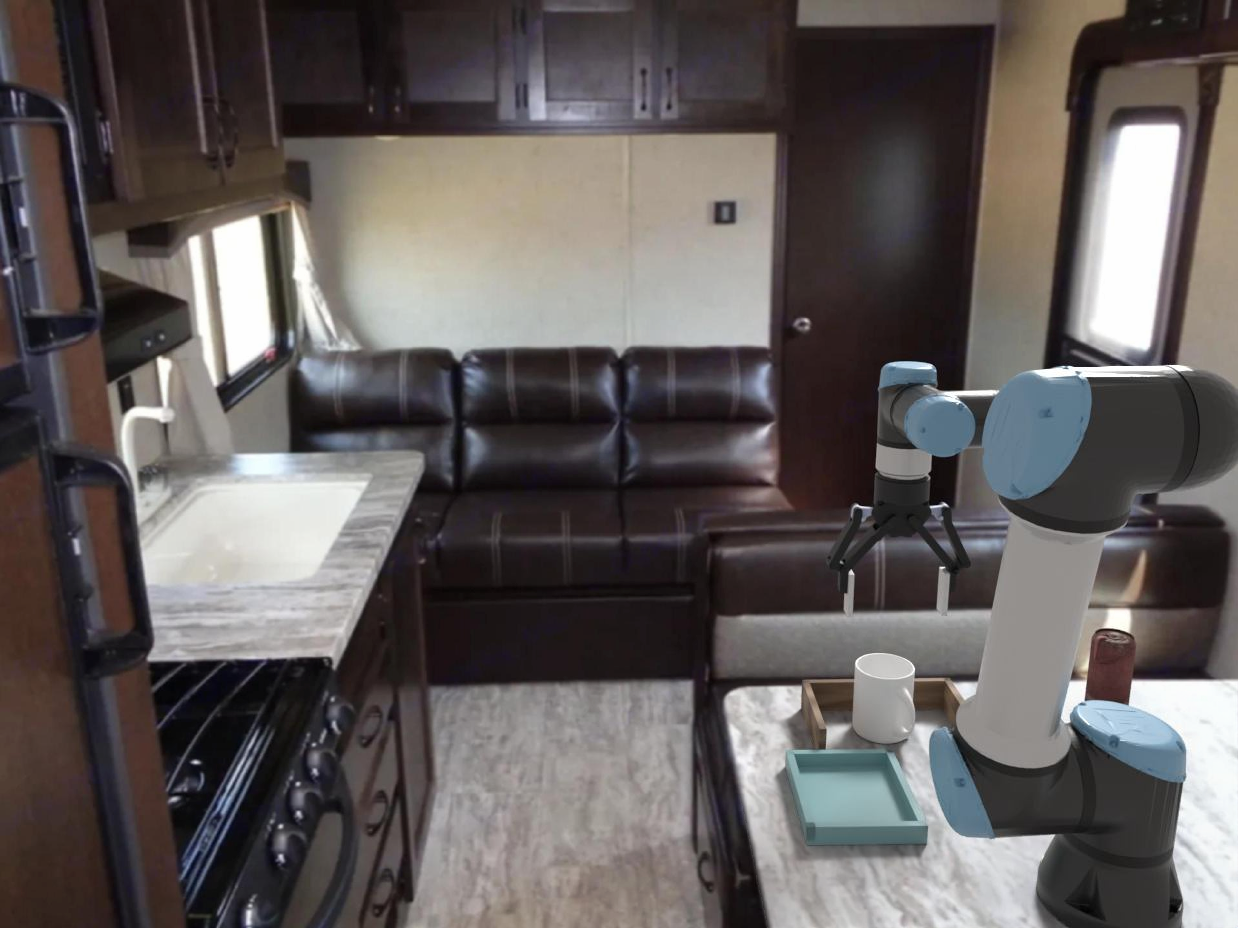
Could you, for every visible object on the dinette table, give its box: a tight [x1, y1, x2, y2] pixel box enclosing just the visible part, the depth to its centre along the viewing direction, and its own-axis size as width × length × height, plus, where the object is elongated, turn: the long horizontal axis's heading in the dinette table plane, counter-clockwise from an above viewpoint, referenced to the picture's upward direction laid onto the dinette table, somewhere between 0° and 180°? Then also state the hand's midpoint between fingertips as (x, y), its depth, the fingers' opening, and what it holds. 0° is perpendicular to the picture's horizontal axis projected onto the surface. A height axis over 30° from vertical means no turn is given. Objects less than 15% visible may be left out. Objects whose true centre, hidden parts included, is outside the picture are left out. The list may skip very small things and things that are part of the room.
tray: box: [784, 748, 929, 846], centre depth 138 cm, size 18×15×3 cm
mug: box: [851, 652, 916, 745], centre depth 153 cm, size 9×12×11 cm
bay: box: [800, 677, 966, 750], centre depth 155 cm, size 15×23×5 cm, turn 90°
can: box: [1083, 627, 1137, 706], centre depth 156 cm, size 6×6×14 cm
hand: (894, 612), depth 151 cm, fingers open, 13 cm apart
